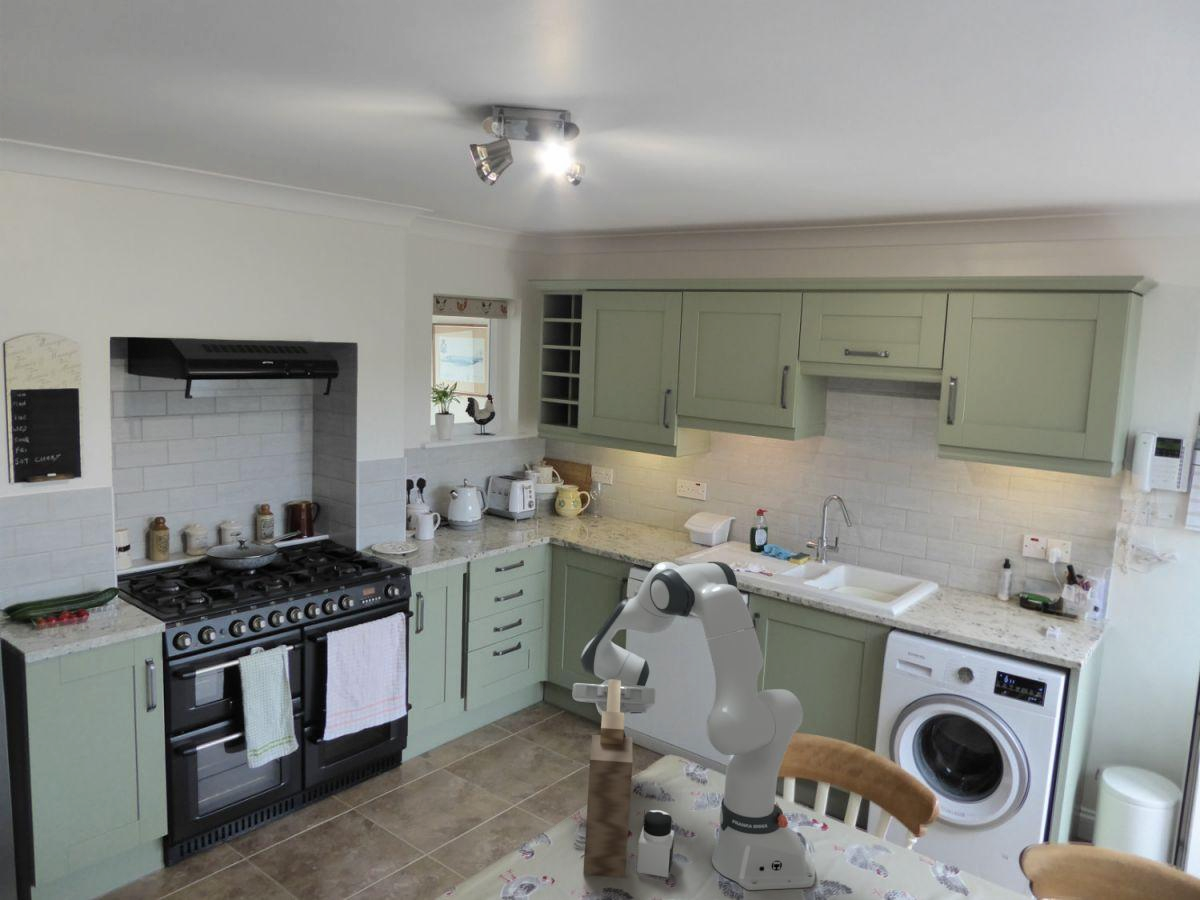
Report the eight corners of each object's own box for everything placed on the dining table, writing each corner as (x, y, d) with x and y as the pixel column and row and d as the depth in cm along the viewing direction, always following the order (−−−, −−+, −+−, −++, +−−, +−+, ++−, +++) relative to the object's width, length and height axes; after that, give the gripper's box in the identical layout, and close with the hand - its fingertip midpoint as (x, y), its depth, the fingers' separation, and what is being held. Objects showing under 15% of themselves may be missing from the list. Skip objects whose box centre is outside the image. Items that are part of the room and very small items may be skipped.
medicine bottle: (668, 878, 187) (672, 826, 186) (636, 872, 188) (639, 820, 187) (672, 860, 194) (676, 809, 193) (641, 854, 195) (644, 804, 194)
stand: (625, 846, 198) (632, 737, 195) (625, 877, 186) (632, 762, 183) (585, 843, 199) (592, 734, 196) (583, 874, 187) (590, 759, 184)
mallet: (624, 691, 210) (625, 677, 209) (622, 744, 191) (623, 729, 190) (603, 689, 210) (604, 675, 209) (600, 743, 192) (601, 727, 190)
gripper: (573, 682, 221) (571, 673, 208) (653, 687, 220) (657, 679, 207) (571, 707, 218) (569, 700, 205) (652, 713, 218) (656, 706, 205)
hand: (614, 690), depth 206 cm, fingers closed on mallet, 3 cm apart
